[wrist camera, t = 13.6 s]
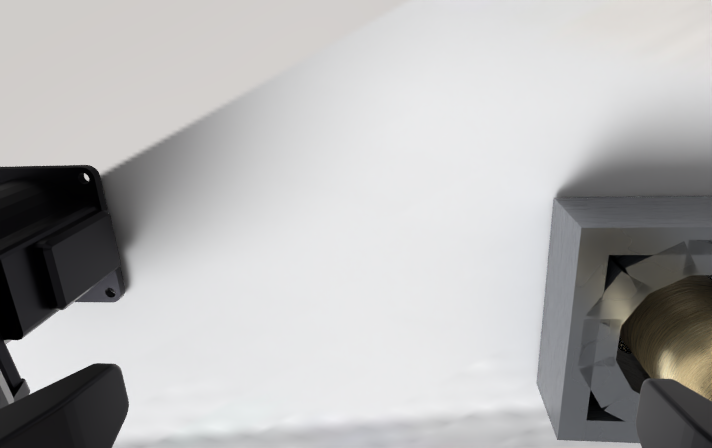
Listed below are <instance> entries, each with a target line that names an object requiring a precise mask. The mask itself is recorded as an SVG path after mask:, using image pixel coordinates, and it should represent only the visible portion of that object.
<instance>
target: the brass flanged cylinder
mask: <svg viewBox="0 0 712 448" xmlns="http://www.w3.org/2000/svg"><path fill="white" fill-rule="evenodd" d="M620 337H621V339H622V340H623V341H624V343H625V344H626V345H627V347H628V348H629V349H630V351H631V352H632V353H633V355H634V356H635V357H636V359H637V360H638V361H639V363H640V364H641V365H642V367H643V368H644V369H645V371H646V372H647V373H648V375H649V376H650V377H651V378H655V379H673V380H675V381H677V382H679V383H681V384H682V385H684V386H686V387H688V388H689V389H691V390H693V391H695V392H696V393H698V394H700V395H702V396H703V397H705V398H707V399H708V400H710V401H712V281H711V280H710V279H709V278H707V277H706V276H705V275H690V276H688V277H686V278H683V279H681V280H679V281H677V282H674V283H672V284H670V285H668V286H665V287H663V288H661V289H659V290H656V291H654V292H652V293H650V294H648V295H647V296H646V297H645V298H644V300H643V301H642V302H641V303H640V304H639V305H638V307H637V308H636V309H635V310H634V311H633V312H632V314H631V315H630V316H629V317H628V318H627V319H626V321H625V322H624V323H623V324H622V325H621V329H620Z"/></svg>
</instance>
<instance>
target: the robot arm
mask: <svg viewBox="0 0 712 448" xmlns="http://www.w3.org/2000/svg"><path fill="white" fill-rule="evenodd" d="M84 173H85V174H87V175H88V177H89V182H88V181H87V180H86V179H85V178H84ZM120 264H121V262H120V258H119V253H118V249H117V244H116V240H115V235H114V230H113V226H112V221H111V217H110V215H109V213H108V210H107V205H106V201H105V196H104V192H103V187H102V183H101V178H100V175H99V172H98V171H97V170H96V169H95V168H94V167H92V166H88V165H73V166H72V165H70V166H23V167H0V448H112V446H113V444H114V442H115V440H116V437H117V435H118V433H119V431H120V429H121V427H122V424H123V422H124V420H125V418H126V415H127V412H128V407H129V401H128V396H127V392H126V388H125V383H124V379H123V375H122V371H121V369H120V367H119V366H118V365H116V364H101V363H97V364H93V365H90V366H88V367H86V368H84V369H82V370H80V371H78V372H76V373H74V374H72V375H70V376H67V377H65V378H63V379H61V380H59V381H57V382H55V383H53V384H51V385H49V386H47V387H44V388H42V389H40V390H38V391H36V392H34V393H32V394H30V395H29V393H30V389H29V387H28V385H27V383H26V380H25V379H21V377H20V375H19V373H18V371H17V368H16V366H15V364H14V362H13V360H12V357H11V355H10V353H9V351H8V349H7V346H6V344H7V343H8V342H10V341H11V340H20V339H22V338H23V337H25V336H26V335H27V334H29V333H30V332H31V331H33V330H34V329H35V328H37V327H38V326H39V325H41V324H42V323H43V322H44V321H46V320H47V319H48V318H50V317H51V316H52V315H54V314H55V313H56V312H58V311H59V310H63V309H66V308H67V307H68V306H69V305H71V304H72V303H73V302H116V301H118V300H119V299H120V298H121V297H122V296H124V294H125V287H124V282H123V278H122V273H121V269H120ZM110 288H112V289H113V290H114V291H115V293H116V294H115V293H113V292H111V290H110ZM636 431H637V435H638V438H639V441H640V443H641V446H642V448H712V401H710V400H708V399H707V398H705V397H703V396H702V395H700V394H698V393H696V392H695V391H693V390H691V389H689V388H688V387H686V386H684V385H682V384H681V383H679V382H677V381H675V380H673V379H655V378H649V379H646V380H645V381H644V382H643V384H642V387H641V392H640V398H639V403H638V409H637V415H636Z"/></svg>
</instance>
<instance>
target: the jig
mask: <svg viewBox="0 0 712 448" xmlns="http://www.w3.org/2000/svg"><path fill="white" fill-rule="evenodd" d="M690 275H712V196H668V197H586V198H554V202H553V212H552V223H551V234H550V245H549V256H548V267H547V278H546V289H545V299H544V310H543V321H542V332H541V343H540V354H539V365H538V376H537V386H538V389H539V391H540V394H541V397H542V400H543V402H544V405H545V408H546V410H547V413H548V416H549V419H550V421H551V424H552V427H553V429H554V432H555V435H556V437H557V440H575V441H601V442H626V443H640V441H639V438H638V435H637V431H636V415H637V409H638V403H639V398H640V392H641V387H642V384H643V382H644V381H645V380H646V379H649V378H651V377H650V376H649V375H648V373H647V372H646V371H645V369H644V368H643V367H642V365H641V364H640V363H639V361H638V360H637V359H636V357H635V356H634V355H633V354H630V353H626V352H624V351H622V350H620V349H618V343H619V336H620V329H621V325H622V324H623V323H624V322H625V321H626V319H627V318H628V317H629V316H630V315H631V314H632V312H633V311H634V310H635V309H636V308H637V307H638V305H639V304H640V303H641V302H642V301H643V300H644V298H645V297H646V296H647V295H648V294H650V293H652V292H654V291H656V290H659V289H661V288H663V287H665V286H668V285H670V284H672V283H674V282H677V281H679V280H681V279H683V278H686V277H688V276H690Z"/></svg>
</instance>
